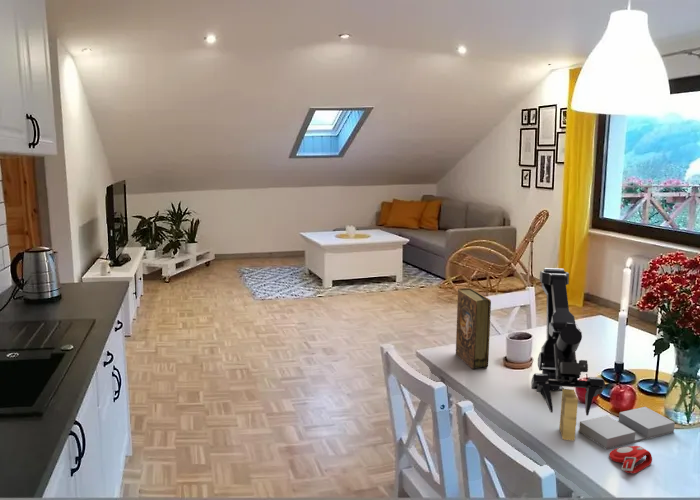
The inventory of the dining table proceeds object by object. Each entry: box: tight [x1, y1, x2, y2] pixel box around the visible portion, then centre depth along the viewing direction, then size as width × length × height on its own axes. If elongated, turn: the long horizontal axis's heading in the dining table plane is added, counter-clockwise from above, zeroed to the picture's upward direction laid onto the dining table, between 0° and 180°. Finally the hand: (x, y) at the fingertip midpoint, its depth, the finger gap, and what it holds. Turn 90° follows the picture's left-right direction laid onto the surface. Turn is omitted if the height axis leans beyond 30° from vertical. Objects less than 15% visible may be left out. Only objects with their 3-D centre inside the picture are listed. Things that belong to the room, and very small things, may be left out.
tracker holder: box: [609, 445, 653, 474], centre depth 148 cm, size 12×4×10 cm
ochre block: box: [559, 388, 579, 442], centre depth 161 cm, size 6×3×12 cm, turn 169°
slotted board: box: [578, 406, 676, 450], centre depth 163 cm, size 10×24×3 cm, turn 111°
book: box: [455, 287, 492, 370], centre depth 211 cm, size 16×6×25 cm, turn 14°
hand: (569, 413), depth 159 cm, fingers open, 9 cm apart
